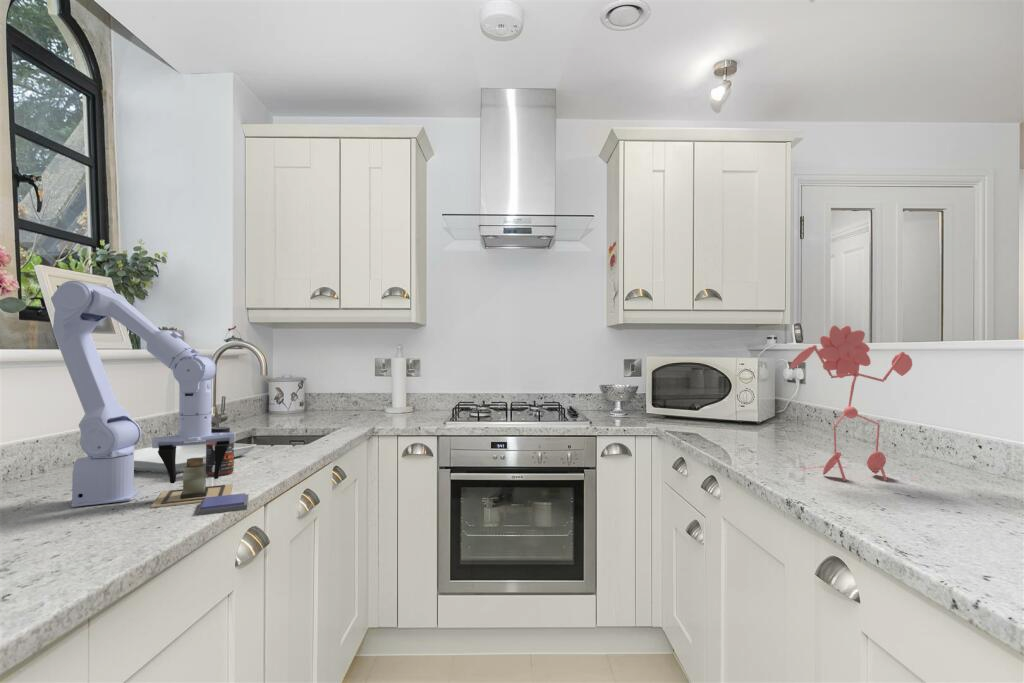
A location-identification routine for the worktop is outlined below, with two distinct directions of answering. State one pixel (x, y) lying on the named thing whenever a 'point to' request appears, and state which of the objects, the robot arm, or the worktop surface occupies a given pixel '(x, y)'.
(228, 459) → the supplement bottle
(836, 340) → the figurine
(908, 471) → the worktop surface
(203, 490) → the stamp
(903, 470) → the worktop surface
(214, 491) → the sheet
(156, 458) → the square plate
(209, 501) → the ink pad
